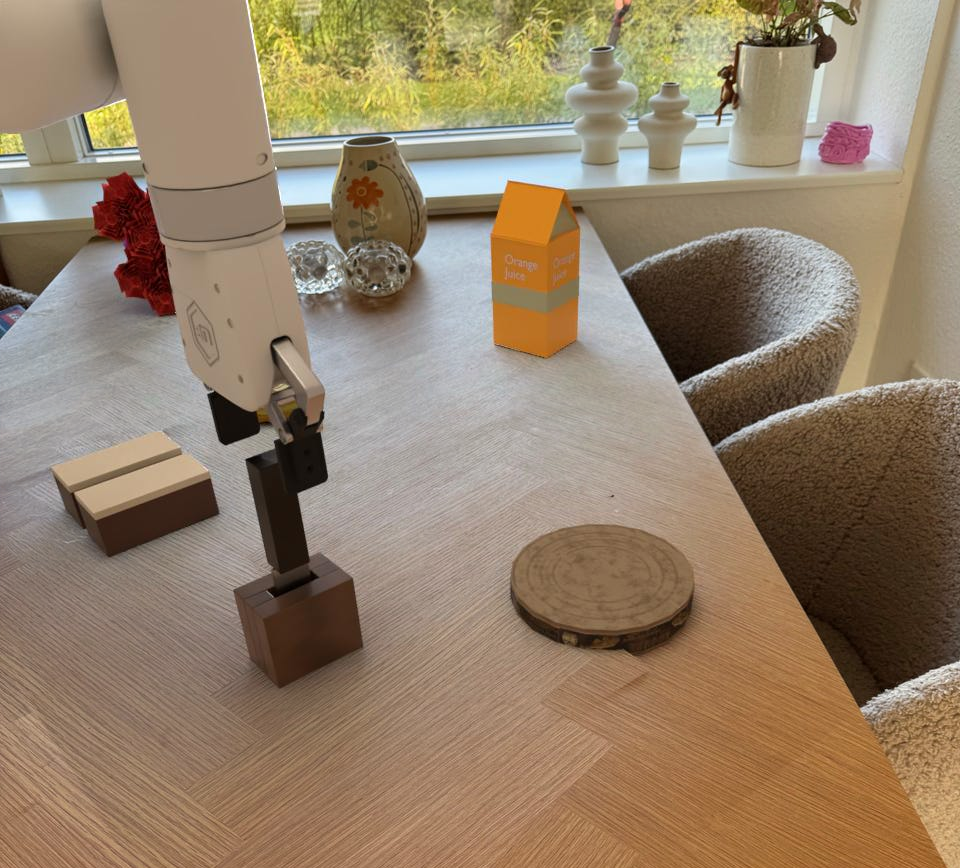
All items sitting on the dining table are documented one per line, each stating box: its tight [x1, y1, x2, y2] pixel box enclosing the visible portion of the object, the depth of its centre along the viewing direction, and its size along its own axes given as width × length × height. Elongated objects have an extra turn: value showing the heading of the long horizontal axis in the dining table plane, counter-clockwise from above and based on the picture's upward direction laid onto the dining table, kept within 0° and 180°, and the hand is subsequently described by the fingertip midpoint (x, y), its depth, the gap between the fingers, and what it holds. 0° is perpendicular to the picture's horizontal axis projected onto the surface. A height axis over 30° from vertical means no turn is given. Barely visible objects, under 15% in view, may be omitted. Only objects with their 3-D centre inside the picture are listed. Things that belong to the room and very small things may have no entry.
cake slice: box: [74, 452, 220, 557], centre depth 96 cm, size 12×5×5 cm, turn 128°
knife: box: [244, 447, 312, 597], centre depth 74 cm, size 3×2×18 cm
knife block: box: [232, 551, 364, 689], centre depth 77 cm, size 8×5×8 cm, turn 128°
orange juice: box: [489, 179, 581, 359], centre depth 124 cm, size 8×9×20 cm
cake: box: [50, 430, 183, 529], centre depth 100 cm, size 12×5×5 cm, turn 128°
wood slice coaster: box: [509, 523, 696, 657], centre depth 84 cm, size 16×16×3 cm
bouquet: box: [91, 171, 176, 316], centre depth 151 cm, size 20×16×30 cm
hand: (272, 461), depth 68 cm, fingers open, 9 cm apart
